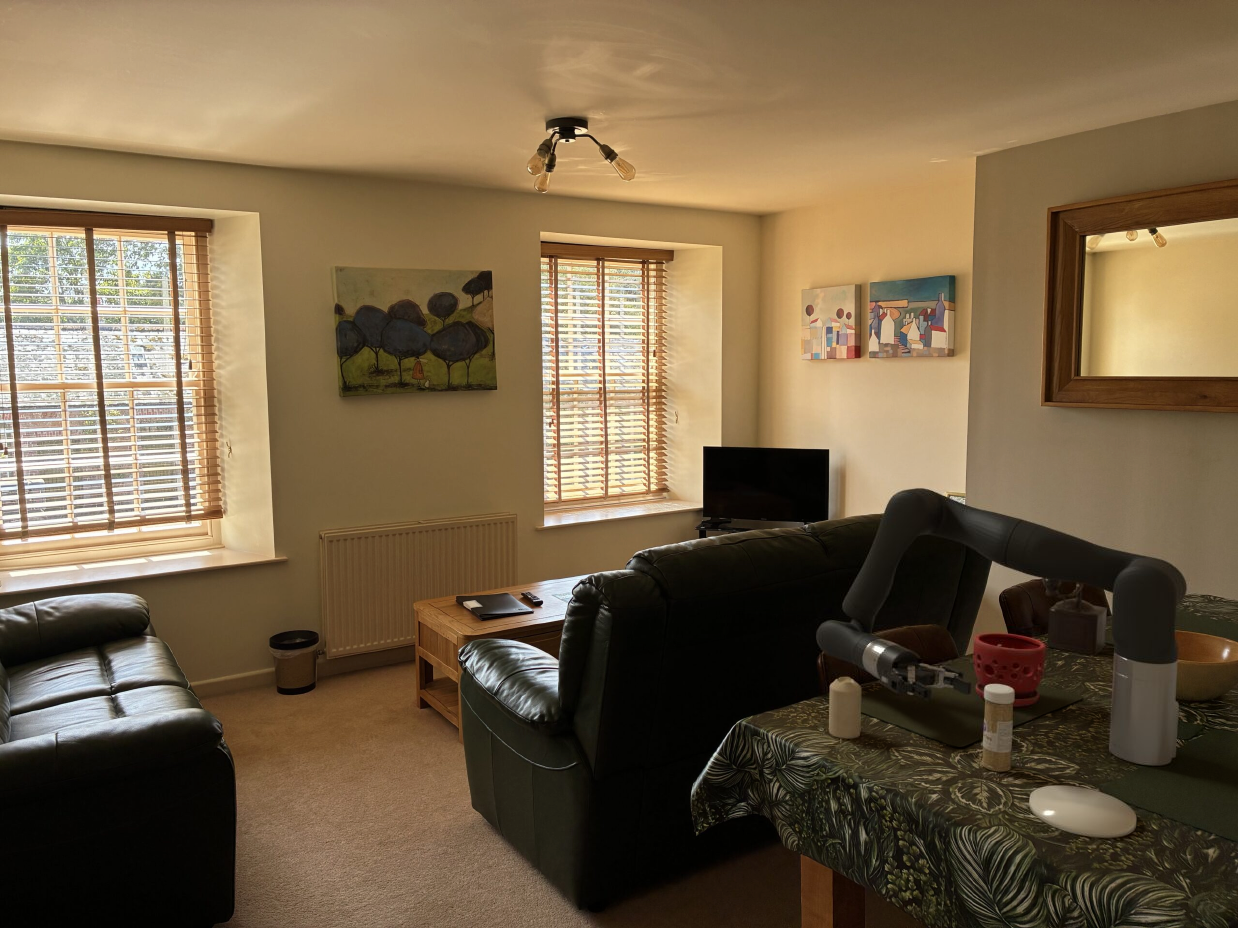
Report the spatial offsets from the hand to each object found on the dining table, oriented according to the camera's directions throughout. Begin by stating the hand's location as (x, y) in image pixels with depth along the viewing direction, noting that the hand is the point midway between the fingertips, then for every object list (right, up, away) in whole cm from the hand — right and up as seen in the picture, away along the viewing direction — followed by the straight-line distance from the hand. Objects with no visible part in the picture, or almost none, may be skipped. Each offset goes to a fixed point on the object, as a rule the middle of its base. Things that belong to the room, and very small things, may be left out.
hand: (949, 692), depth 160 cm
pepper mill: (+48, -3, +53) cm, 72 cm away
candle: (-17, -9, +5) cm, 20 cm away
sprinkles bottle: (+4, -10, -10) cm, 15 cm away
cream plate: (+10, -11, -25) cm, 30 cm away
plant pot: (+19, -7, +21) cm, 30 cm away
